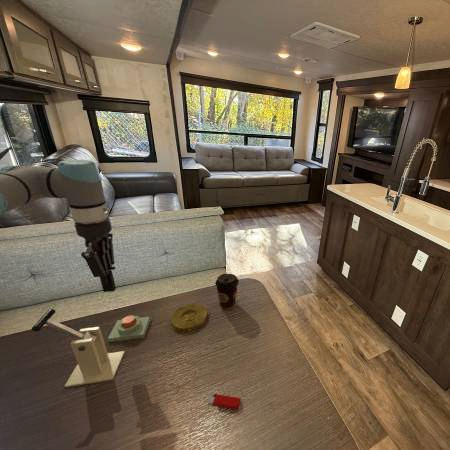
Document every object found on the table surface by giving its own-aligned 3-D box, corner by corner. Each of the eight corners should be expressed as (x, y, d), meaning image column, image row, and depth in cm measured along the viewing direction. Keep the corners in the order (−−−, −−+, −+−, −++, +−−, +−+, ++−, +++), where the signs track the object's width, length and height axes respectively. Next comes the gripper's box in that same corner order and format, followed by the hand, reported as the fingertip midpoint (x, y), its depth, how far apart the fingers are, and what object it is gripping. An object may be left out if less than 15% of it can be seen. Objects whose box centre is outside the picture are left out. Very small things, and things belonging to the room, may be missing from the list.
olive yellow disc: (171, 313, 93) (171, 308, 92) (205, 305, 98) (204, 301, 97) (171, 337, 83) (170, 332, 83) (208, 327, 88) (208, 323, 88)
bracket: (65, 389, 66) (49, 352, 60) (83, 359, 74) (70, 324, 68) (113, 381, 69) (101, 345, 63) (125, 353, 77) (116, 319, 71)
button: (120, 328, 81) (119, 324, 80) (125, 320, 84) (123, 315, 83) (133, 327, 81) (132, 322, 81) (137, 319, 85) (136, 314, 84)
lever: (28, 330, 58) (35, 324, 58) (45, 312, 64) (52, 306, 63) (83, 354, 64) (89, 348, 64) (94, 335, 70) (100, 330, 70)
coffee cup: (225, 315, 95) (224, 287, 90) (212, 305, 99) (210, 278, 94) (242, 303, 101) (242, 277, 96) (229, 294, 106) (229, 269, 100)
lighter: (237, 408, 64) (207, 403, 64) (237, 411, 65) (207, 406, 65) (240, 397, 67) (211, 392, 67) (240, 400, 67) (212, 395, 68)
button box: (108, 343, 79) (106, 334, 78) (118, 324, 86) (116, 316, 85) (144, 339, 82) (142, 330, 80) (150, 321, 89) (149, 312, 87)
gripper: (97, 229, 62) (115, 303, 71) (117, 210, 73) (131, 276, 82) (60, 229, 60) (84, 306, 69) (87, 210, 71) (105, 278, 80)
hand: (109, 290), depth 76 cm, fingers closed
